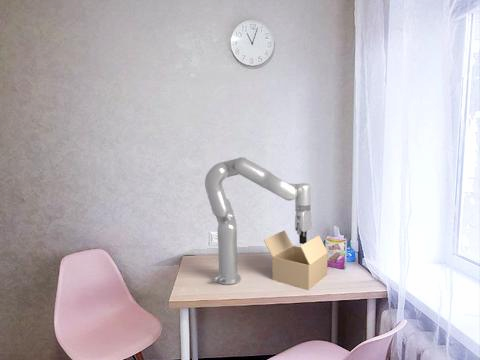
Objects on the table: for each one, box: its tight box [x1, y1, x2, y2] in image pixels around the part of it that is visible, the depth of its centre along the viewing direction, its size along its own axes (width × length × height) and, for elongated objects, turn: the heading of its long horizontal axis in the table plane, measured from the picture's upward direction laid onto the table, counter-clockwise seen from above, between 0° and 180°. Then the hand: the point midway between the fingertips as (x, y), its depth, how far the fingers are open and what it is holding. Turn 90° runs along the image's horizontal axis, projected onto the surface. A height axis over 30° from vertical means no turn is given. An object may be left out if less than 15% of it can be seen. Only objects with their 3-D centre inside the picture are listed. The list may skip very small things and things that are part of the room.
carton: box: [271, 245, 328, 291], centre depth 160 cm, size 22×20×12 cm
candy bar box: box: [324, 235, 348, 270], centre depth 173 cm, size 11×5×16 cm, turn 59°
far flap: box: [263, 230, 294, 257], centre depth 167 cm, size 21×10×1 cm
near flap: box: [299, 235, 328, 265], centre depth 155 cm, size 21×10×1 cm
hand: (303, 243), depth 158 cm, fingers closed
